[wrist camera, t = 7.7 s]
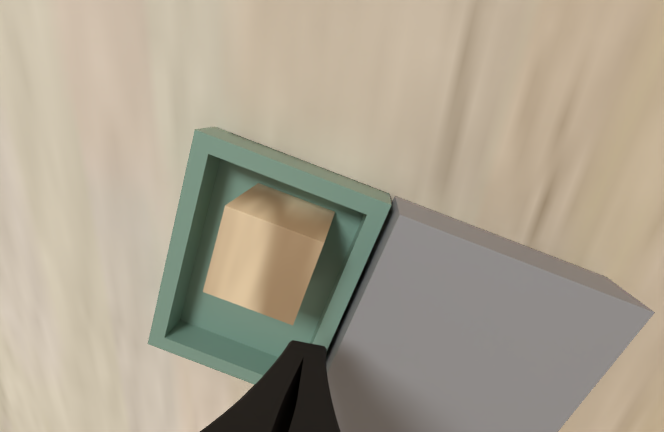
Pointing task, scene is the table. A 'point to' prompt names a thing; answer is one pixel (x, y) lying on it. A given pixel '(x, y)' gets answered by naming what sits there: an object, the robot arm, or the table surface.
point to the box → (200, 237)
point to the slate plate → (471, 332)
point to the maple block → (267, 251)
